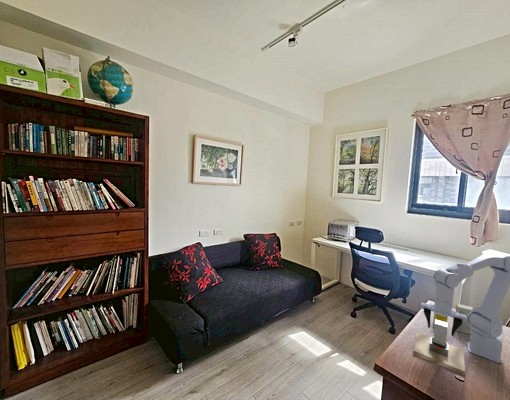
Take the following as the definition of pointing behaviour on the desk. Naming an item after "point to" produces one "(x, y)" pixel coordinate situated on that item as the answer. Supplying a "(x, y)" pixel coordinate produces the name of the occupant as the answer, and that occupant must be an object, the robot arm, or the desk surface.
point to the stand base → (451, 362)
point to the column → (440, 332)
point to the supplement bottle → (439, 317)
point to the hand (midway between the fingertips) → (440, 330)
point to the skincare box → (465, 311)
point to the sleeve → (438, 348)
